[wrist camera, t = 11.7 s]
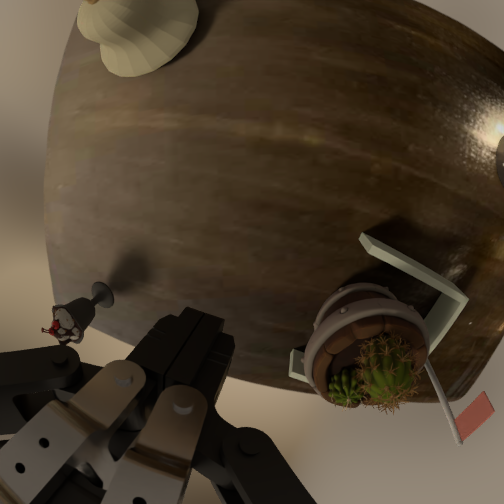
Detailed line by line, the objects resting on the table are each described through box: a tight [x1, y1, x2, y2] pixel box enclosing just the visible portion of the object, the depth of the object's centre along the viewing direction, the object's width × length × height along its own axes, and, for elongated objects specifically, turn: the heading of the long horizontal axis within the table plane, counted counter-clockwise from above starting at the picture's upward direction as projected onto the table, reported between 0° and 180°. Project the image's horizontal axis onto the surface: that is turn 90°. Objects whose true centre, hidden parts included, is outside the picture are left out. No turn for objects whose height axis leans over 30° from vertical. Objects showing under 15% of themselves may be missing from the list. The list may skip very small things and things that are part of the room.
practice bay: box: [289, 232, 495, 446], centre depth 25 cm, size 17×20×21 cm
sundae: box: [42, 282, 113, 345], centre depth 35 cm, size 7×7×15 cm
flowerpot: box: [301, 283, 430, 413], centre depth 26 cm, size 14×15×20 cm
